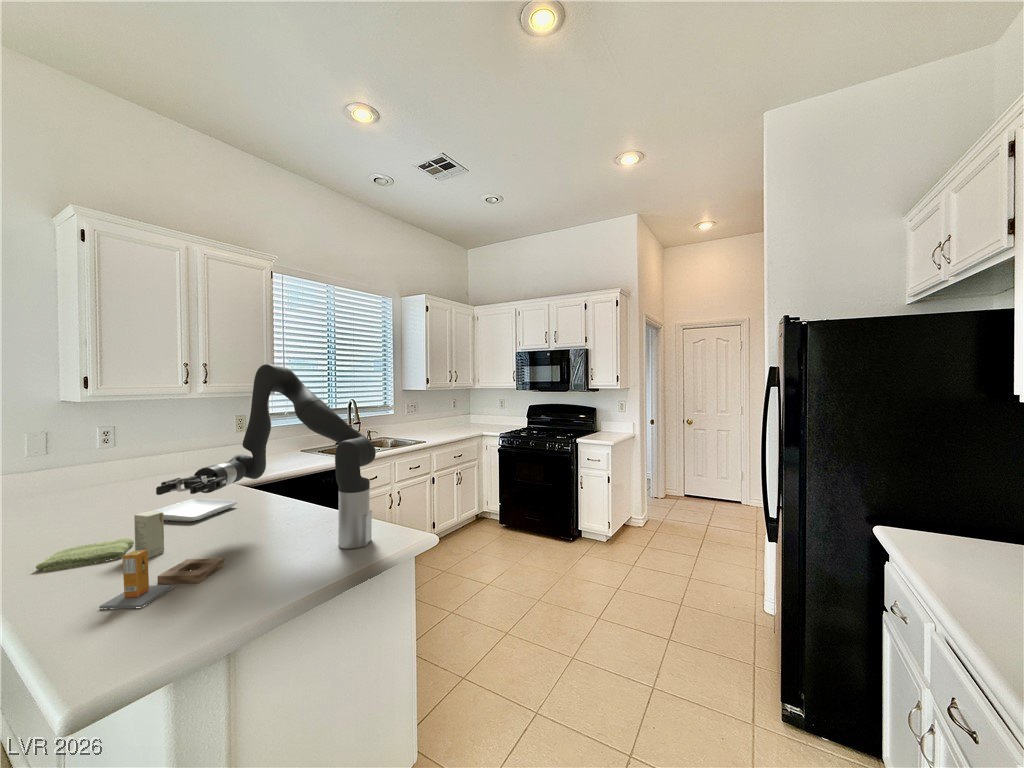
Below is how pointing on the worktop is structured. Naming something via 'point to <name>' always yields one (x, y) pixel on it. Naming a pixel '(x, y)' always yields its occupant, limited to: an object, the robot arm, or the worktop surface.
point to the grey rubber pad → (137, 598)
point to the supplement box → (135, 573)
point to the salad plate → (195, 509)
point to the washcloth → (86, 554)
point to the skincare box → (149, 532)
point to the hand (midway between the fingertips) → (174, 490)
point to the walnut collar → (184, 574)
